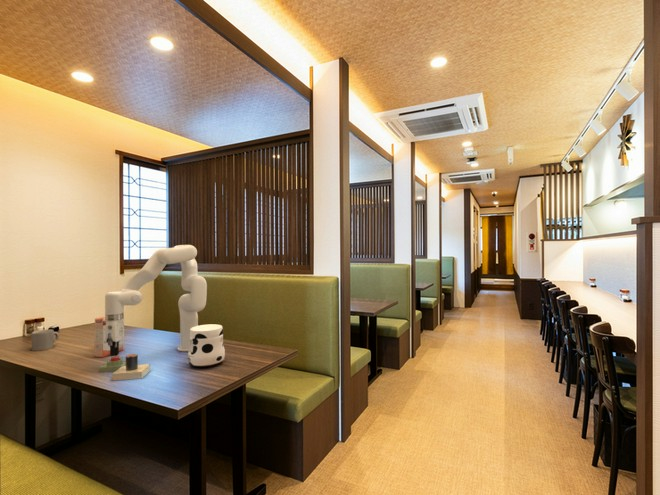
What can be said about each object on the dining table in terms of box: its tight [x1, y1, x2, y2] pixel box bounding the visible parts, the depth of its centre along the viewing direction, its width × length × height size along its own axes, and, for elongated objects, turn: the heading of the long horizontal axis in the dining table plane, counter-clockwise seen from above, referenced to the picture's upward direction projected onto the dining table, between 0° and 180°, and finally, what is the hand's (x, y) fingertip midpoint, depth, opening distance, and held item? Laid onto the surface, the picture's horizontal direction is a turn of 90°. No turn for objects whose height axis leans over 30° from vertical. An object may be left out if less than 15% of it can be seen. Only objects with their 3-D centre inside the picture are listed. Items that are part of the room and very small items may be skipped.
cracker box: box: [94, 315, 125, 358], centre depth 188 cm, size 14×6×21 cm, turn 168°
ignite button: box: [110, 355, 120, 362], centre depth 163 cm, size 4×4×2 cm
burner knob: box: [125, 353, 139, 371], centre depth 154 cm, size 5×5×6 cm
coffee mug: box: [31, 329, 60, 352], centre depth 202 cm, size 13×10×10 cm
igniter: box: [99, 357, 126, 373], centre depth 163 cm, size 10×8×4 cm
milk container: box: [187, 323, 226, 368], centre depth 168 cm, size 17×17×18 cm
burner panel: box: [111, 363, 151, 381], centre depth 154 cm, size 12×10×3 cm
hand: (114, 355), depth 163 cm, fingers closed
